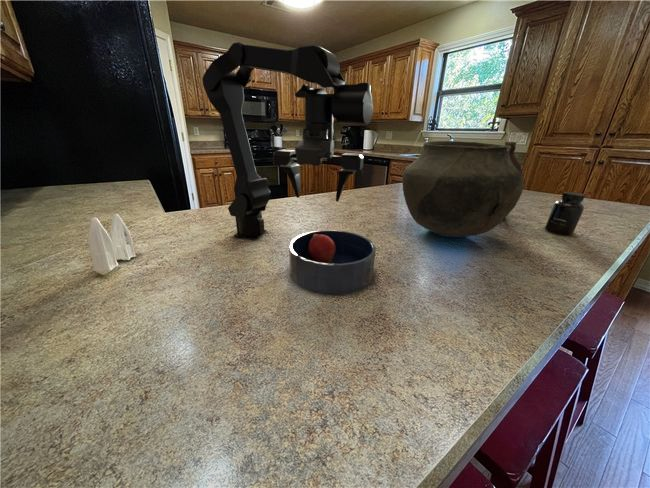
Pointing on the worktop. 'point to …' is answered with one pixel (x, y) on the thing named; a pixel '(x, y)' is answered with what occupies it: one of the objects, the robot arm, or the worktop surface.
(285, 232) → the worktop surface
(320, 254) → the onion
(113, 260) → the shaker set
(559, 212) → the supplement bottle
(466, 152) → the pot
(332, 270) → the bowl
